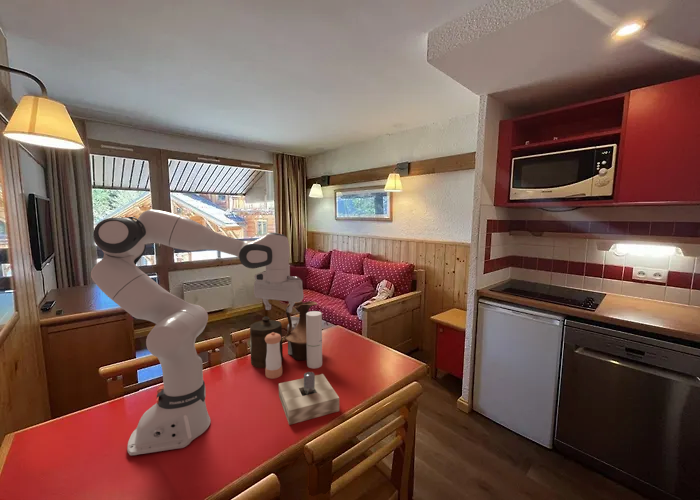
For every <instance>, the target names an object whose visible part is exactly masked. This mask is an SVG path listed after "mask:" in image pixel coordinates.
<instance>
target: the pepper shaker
mask: <svg viewBox="0 0 700 500" xmlns="http://www.w3.org/2000/svg"><path fill="white" fill-rule="evenodd" d="M280 341H281V336H280V334H278V333H274V332H272V333H271V334H268V335H267V336H266V337H265V342H266V343H267V355H266V368H264V371H265V372H264V373H265V377H266V378H267V379H270V380H271V379H272V380H273V379H277V378H280V377H281V376H282V375H283V365H282V362H281V354H280Z"/></svg>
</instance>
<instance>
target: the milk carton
mask: <svg viewBox="0 0 700 500" xmlns="http://www.w3.org/2000/svg"><path fill="white" fill-rule="evenodd" d="M290 317H291V321H292V330H294V329H295V328H296V326H297V325H298V323H299V316H298V317H297V316H296V317H295V316H290ZM288 330H289V323H288V324H287V331H288ZM292 330H291V331H292ZM287 355H290V356H292V347H291V342H290V341H288V340H287Z"/></svg>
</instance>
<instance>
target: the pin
mask: <svg viewBox="0 0 700 500" xmlns="http://www.w3.org/2000/svg"><path fill="white" fill-rule="evenodd" d="M315 376H316V374H315V372H313V371H307V372H304V374H303V378H304V396H305V395H309V394H313V393H315Z"/></svg>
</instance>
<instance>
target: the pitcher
mask: <svg viewBox="0 0 700 500" xmlns="http://www.w3.org/2000/svg"><path fill="white" fill-rule="evenodd" d="M303 301H304V300H301V301H300V302H295V304H294V305H293V307H294V309H296V311H297V312H298V314H299V316H298V317H299V323H298V325H297V326H296V328H295V329H294V330H292V321H291V317H292V316H291V313H288V312H287V309H285V314H286V318H287V322H288V324H289V330H288V329H287V333H286V334H285V335H284V337H283V338H284V339H285V340H286V341H287V342H288V341H290V342H291V347H292V355H291V356H292V358H293V359H294V360H296V361H307V335H306V313H307V312H309V310H310V308H311V307H312V306H317V305H318V302H316V301H311V300H310V301H305V302H303ZM289 306H290V304H289V303H288V304H287V305H286V308H288V307H289ZM291 330H292V331H291Z"/></svg>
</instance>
